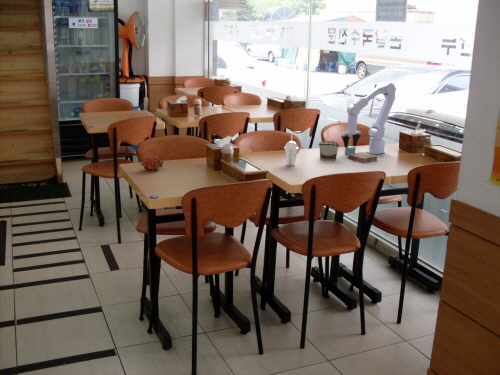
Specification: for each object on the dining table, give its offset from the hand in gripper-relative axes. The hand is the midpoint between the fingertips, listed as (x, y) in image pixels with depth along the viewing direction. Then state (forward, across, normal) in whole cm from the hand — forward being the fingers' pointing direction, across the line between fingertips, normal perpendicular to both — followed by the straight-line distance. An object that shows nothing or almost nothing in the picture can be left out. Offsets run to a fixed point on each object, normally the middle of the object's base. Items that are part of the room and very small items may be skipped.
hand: (350, 146), depth 335 cm
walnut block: (+5, +4, +14) cm, 15 cm away
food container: (+5, +20, +1) cm, 21 cm away
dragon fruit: (+6, +121, -29) cm, 124 cm away
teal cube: (+5, 0, 0) cm, 5 cm away
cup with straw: (+5, +50, +2) cm, 50 cm away
